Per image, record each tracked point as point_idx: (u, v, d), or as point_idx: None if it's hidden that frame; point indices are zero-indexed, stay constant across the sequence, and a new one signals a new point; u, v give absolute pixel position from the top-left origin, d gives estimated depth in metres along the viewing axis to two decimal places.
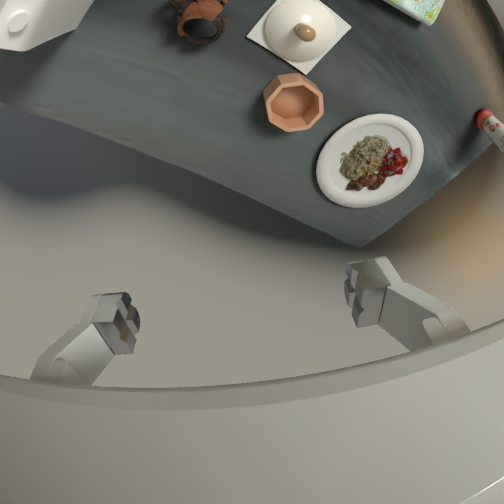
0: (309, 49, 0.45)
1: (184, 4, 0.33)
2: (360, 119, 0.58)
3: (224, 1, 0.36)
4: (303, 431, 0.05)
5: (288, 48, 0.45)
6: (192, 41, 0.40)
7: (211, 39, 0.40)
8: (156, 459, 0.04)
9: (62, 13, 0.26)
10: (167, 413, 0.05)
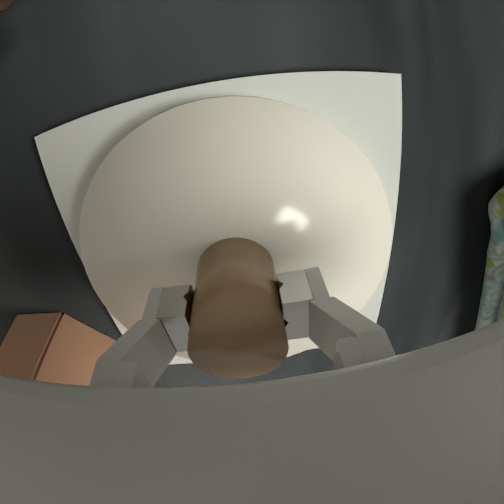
0: None
1: None
2: None
3: None
4: (303, 431, 0.05)
5: (134, 291, 0.12)
6: None
7: None
8: (156, 459, 0.04)
9: None
10: (167, 413, 0.05)
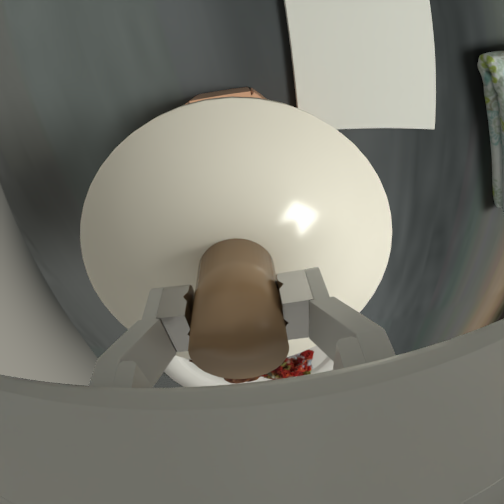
0: None
1: None
2: None
3: None
4: (303, 431, 0.05)
5: (134, 292, 0.12)
6: None
7: None
8: (156, 459, 0.04)
9: None
10: (167, 413, 0.05)
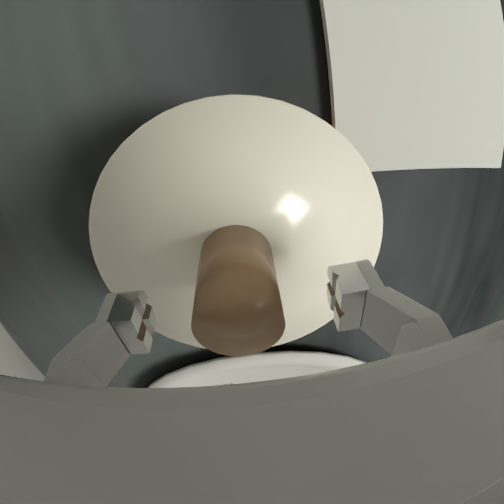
0: None
1: None
2: (329, 357, 0.25)
3: None
4: (303, 431, 0.05)
5: (139, 278, 0.13)
6: None
7: None
8: (156, 459, 0.04)
9: None
10: (167, 413, 0.05)
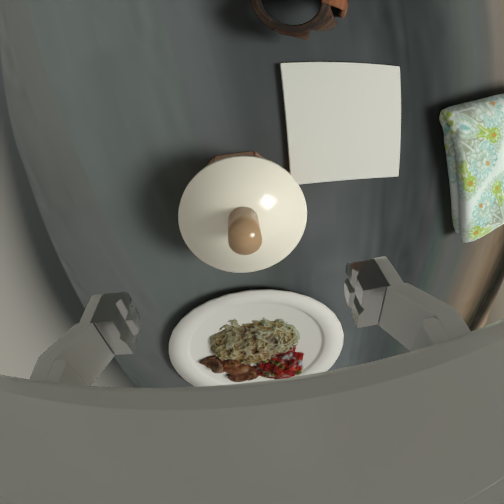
0: (226, 253, 0.32)
1: None
2: (296, 295, 0.42)
3: (343, 11, 0.22)
4: (303, 431, 0.05)
5: (199, 230, 0.30)
6: (257, 4, 0.20)
7: (284, 25, 0.21)
8: (156, 459, 0.04)
9: None
10: (167, 413, 0.05)
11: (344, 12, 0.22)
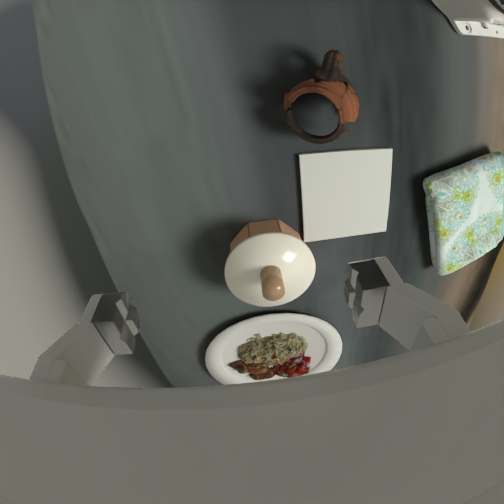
0: (257, 294, 0.45)
1: (335, 75, 0.28)
2: (306, 316, 0.55)
3: None
4: (303, 431, 0.05)
5: (239, 280, 0.43)
6: (289, 117, 0.32)
7: (309, 137, 0.33)
8: (156, 459, 0.04)
9: None
10: (167, 413, 0.05)
11: None
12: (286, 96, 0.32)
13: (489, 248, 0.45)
